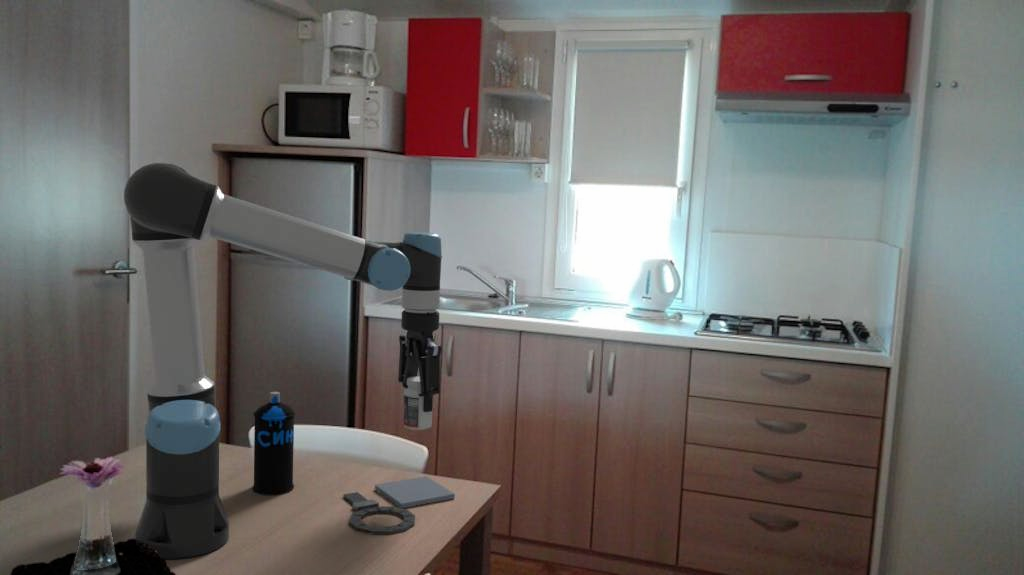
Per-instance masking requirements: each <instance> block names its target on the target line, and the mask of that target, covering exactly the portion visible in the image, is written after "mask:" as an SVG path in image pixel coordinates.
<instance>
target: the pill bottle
mask: <svg viewBox="0 0 1024 575" xmlns="http://www.w3.org/2000/svg"><path fill="white" fill-rule="evenodd" d="M407 385H408V389H406V390H405V392H404V391H403V409H404V418H402V419H403V421H402V422H403V426H404V428H406V429H408V430H412V431H413V430H414V431H423V430H427V429H429V428H431V427H424V428H419V427H418V410H419V395H418V394H421V384H420V376H417V377H409V378H407Z"/></svg>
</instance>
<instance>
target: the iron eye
mask: <svg viewBox="0 0 1024 575" xmlns="http://www.w3.org/2000/svg"><path fill="white" fill-rule="evenodd" d="M342 495H343V498H344V499H345V500H346V501H347V502H349V503H350V504H351V505H352V509H353V510H354V511H355V512H353V513H351V514H350V517H349V520H348V524H349V525H350V527H352V528H353V529H354V530H355V531H357V532H362V533H366V534H369V535H392V534H397V533H403V532H405V531H407V530H409V529H410V528H413V526H415V522H416V515H415V514H414V513H413V512H411V511H410V510H408V509H407V508H403V509H402V508H400V507H398V506H388V505H387V506H383V505H382V506H381V505H380V504H379V502H378V501H377V500H375V499H367V498H366V497H365V496H363V495H362V494H361V493H359V492H358V491H355V492H349V493H344V494H342ZM376 513H377V514H390V513H391V515H394V516H398V517H401V518H402V519H403V521H401V522H400V523H397V524H394V525H389V526H375V525H370V524H366V523H365V522H364V521H362V519H363V518H366V517H368V516H371V515H376Z"/></svg>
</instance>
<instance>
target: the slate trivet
mask: <svg viewBox="0 0 1024 575" xmlns="http://www.w3.org/2000/svg"><path fill="white" fill-rule="evenodd" d="M375 489H376V490H377V491H376V490H375ZM374 490H375V491H376V492H378V491H379V492H380V493H379V492H378V493H379V494H381V493H382V494H383V495H384V496H383V495H382V494H381V495H382V496H383V497H385V498H386V497H387V498H388V501H390V500H391V501H390V502H391V503H393V504H394V503H395V504H394V505H396V506H397V505H398V506H399V507H398V506H397V507H398V508H403V509H407V507H408V508H413V507H417V506H416V505H418V506H421V505H420V504H423V505H427V504H426V503H429V504H434V503H439V502H444V501H448V500H454V498H455V497H456V494H455V493H454V492H453V491H451V490H449V489H448V488H446V487H445V486H443V485H441V484H440V483H438V482H437V481H435V480H433V479H432V478H430V477H428V476H427V475H425V476H420V477H413V478H408V479H402V480H401V479H400V480H396V481H395V480H394V481H391V482H390V481H389V482H384V483H378V484H375V485H374ZM387 498H386V499H387ZM438 501H439V502H438ZM433 502H434V503H433ZM412 506H413V507H412Z"/></svg>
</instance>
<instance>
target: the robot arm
mask: <svg viewBox="0 0 1024 575" xmlns="http://www.w3.org/2000/svg"><path fill="white" fill-rule="evenodd" d="M123 192H124V193H123V201H124V205H125V209H126V211H127V212H128V214H129V216H130V217H129V219H130V227H131V228H130V229H131V239H132V243H133V244H135V245H136V246H137V247H138V248H140V250H142V257H143V258H142V259H143V265H144V266H143V268H144V277H145V287H146V297H147V308H148V309H147V310H148V322H149V329H150V330H149V331H150V332H149V333H150V339H151V340H150V341H151V352H152V353H151V354H152V362H153V372H154V381H153V382H152V384H150V385H149V387H148V389H146V394H147V405H148V414H147V417H146V423H145V425H144V434H145V435H144V436H145V441H146V443H145V446H146V447H145V451H146V453H145V454H146V457H145V458H146V460H145V462H146V466H145V467H146V470H145V471H146V474H145V475H146V476H145V477H146V479H145V480H146V485H145V487H146V490H145V491H146V493H145V494H146V495H145V497H146V499H145V503H144V505H143V506H144V507H143V509H142V512H141V515H140V518H139V520H138V524H137V527H136V529H135V534H134V535H135V536H134V539H135V540H137V541H140V542H142V543H145V544H147V545H148V546H149V547H151V548H153V549H154V550H156V551H157V552H158V553H159V555H160V557H161V558H160V559H163V560H165V559H166V560H167V559H168V560H169V559H170V560H173V559H174V560H175V559H176V560H177V559H187V558H192V557H193V558H194V557H197V556H202V555H205V554H208V553H212V552H213V551H214V552H215V550H218V549H220V548H221V547H223V546H224V545H225V544H226V543H227V542H228V541H229V539H230V523H229V520H228V518H227V514H226V512H225V509H224V504H223V502H222V500H221V497H220V489H219V488H220V485H219V484H220V432H221V421H220V415H219V411H218V409H217V401H216V391H215V390H216V389H215V382H214V381H213V380H212V379H211V378H209V377H208V376H207V375H206V374H205V373H206V372H205V362H204V351H203V349H204V348H203V338H202V327H201V315H200V303H199V294H198V293H199V291H198V282H197V281H198V280H197V271H196V270H197V268H196V259H195V257H196V256H195V246H196V245H197V243H198V242H200V241H203V240H206V239H207V238H213V239H216V240H219V241H224V242H225V243H228V244H229V243H230V244H233V245H235V246H236V245H237V246H240V247H243V248H247V249H250V250H253V251H256V252H259V253H260V252H261V253H262V254H266V255H270V256H273V257H277V258H280V259H283V260H287V261H290V262H294V263H296V264H301V265H304V266H306V267H310V268H313V269H316V270H320V271H324V272H327V273H331V274H334V275H336V276H340V277H343V278H344V280H347V281H357V282H360V283H364V284H366V285H369V286H373V287H375V288H376V289H379V290H382V291H387V292H388V291H389V292H390V291H395V290H399V289H401V290H402V291H401V295H402V296H401V307H402V309H403V310H402V312H401V325H400V326H401V328H402V330H404V331H406V334H402V335H401V334H400V335H399V336H398V340H399V361H398V378H397V379H398V383H401V385H402V387H403V393H404V392H405V390H406V389H408V385H407V378H409V377H418V374H419V377H420V384H421V394H418V395H419V410H418V427H419V428H424V427H430V428H431V427H432V425H433V423H432V422H433V401H434V400H433V399H434V396H435V395H438V394H440V391H441V388H440V387H441V386H440V385H441V382H440V381H441V378H440V377H441V376H440V375H441V370H440V369H441V353H442V345H441V344H436V343H435V339H434V332H435V331H438V330H439V328H440V312H439V311H438V310H439V309H440V303H441V302H440V300H441V299H440V297H441V274H442V273H441V272H442V270H441V269H442V259H443V256H442V238H441V237H440V235H439V234H437V233H434V232H421V231H420V232H419V231H418V232H411V231H410V232H406V233H404V235H403V239H402V241H398V242H388V241H387V242H384V241H382V242H381V241H372V240H367V239H365V238H361V237H359V236H355V235H352V234H350V233H347V232H342V231H340V230H336V229H333V228H331V227H327V226H324V225H321V224H318V223H315V222H311V221H308V220H305V219H304V218H303V219H302V218H300V217H296V216H292V215H290V214H286V213H285V212H280V211H277V210H274V209H272V208H267V207H265V206H262V205H258V204H255V203H252V202H249V201H246V200H243V199H239V198H237V197H234V196H232V195H231V196H230V195H229V194H224V193H223V192H222V190H221V188H220V186H218V185H217V184H212V183H210V182H207V181H204V180H201V179H199V178H197V177H196V176H194V175H191V174H190V173H189V172H188V171H187V170H186V169H184V168H182V167H181V166H178V165H175V164H173V163H163V162H155V163H149V164H145V165H143V166H141V167H140V168H138V169H136V170H135V171H134V172H133V173H132V174H131V176H130V177H129V178H128V180H127V181H126V183H125V187H124V190H123ZM402 413H403V416H402V417H403V418H404V408H403V412H402ZM403 418H402V419H403ZM135 540H134V541H135Z"/></svg>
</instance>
